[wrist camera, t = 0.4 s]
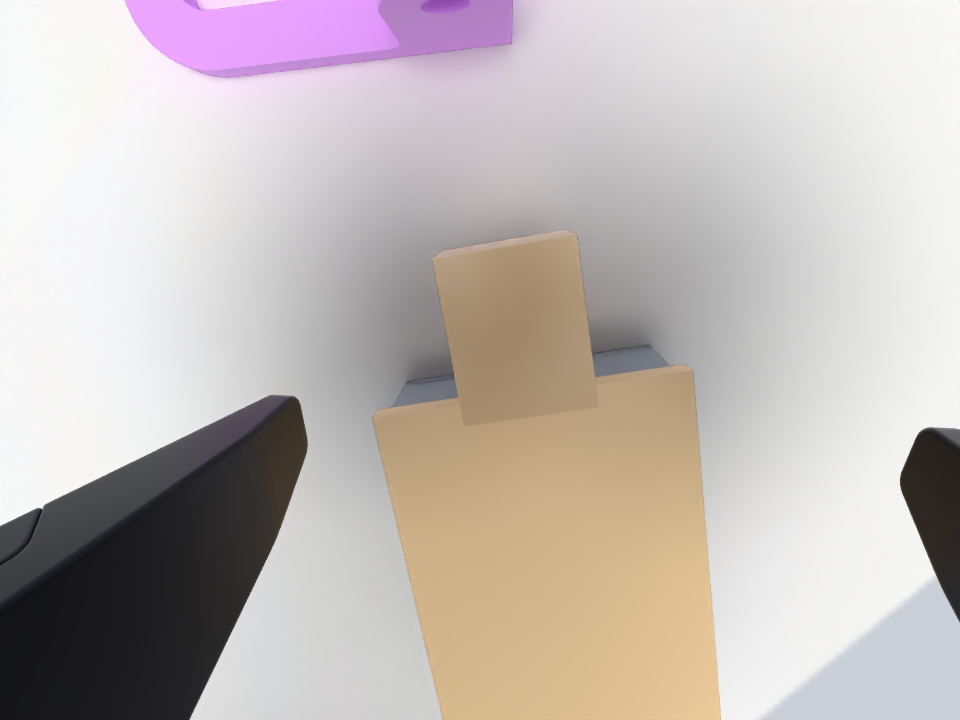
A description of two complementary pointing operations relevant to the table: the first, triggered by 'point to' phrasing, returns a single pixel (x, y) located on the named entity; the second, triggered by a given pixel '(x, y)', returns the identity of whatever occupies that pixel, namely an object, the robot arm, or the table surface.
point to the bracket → (316, 31)
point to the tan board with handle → (551, 507)
